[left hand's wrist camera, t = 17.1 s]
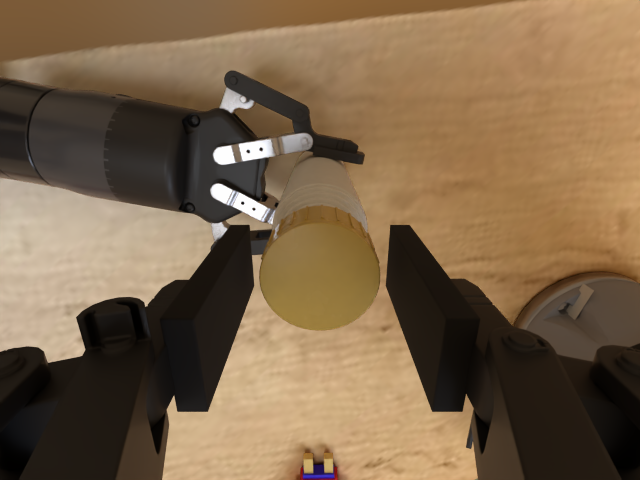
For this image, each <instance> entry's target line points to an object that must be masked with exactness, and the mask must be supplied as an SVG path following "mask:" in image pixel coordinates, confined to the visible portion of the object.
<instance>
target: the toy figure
mask: <svg viewBox="0 0 640 480" xmlns="http://www.w3.org/2000/svg"><path fill="white" fill-rule="evenodd" d="M303 461H304V465H303V468H301V475H300V480H338V478H337V467H334V465H333V453H324V465H313V453H304V458H303Z"/></svg>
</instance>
